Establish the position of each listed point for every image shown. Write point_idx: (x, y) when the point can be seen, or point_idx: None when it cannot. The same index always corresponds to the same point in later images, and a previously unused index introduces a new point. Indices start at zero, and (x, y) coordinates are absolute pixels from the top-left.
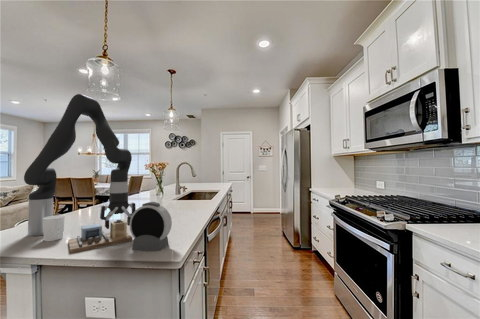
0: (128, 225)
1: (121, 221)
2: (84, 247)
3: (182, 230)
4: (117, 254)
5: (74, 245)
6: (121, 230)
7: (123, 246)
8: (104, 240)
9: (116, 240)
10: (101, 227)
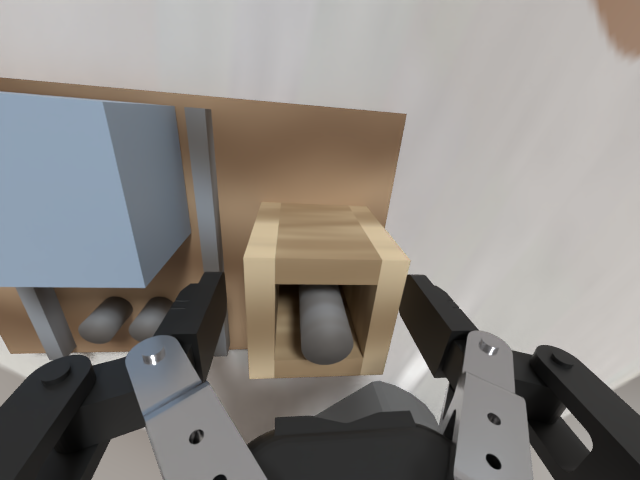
0: (401, 307)
1: (369, 281)
2: (94, 348)
3: (634, 321)
4: (249, 438)
5: (11, 297)
6: None
7: (293, 378)
8: None
9: None
10: (148, 279)
